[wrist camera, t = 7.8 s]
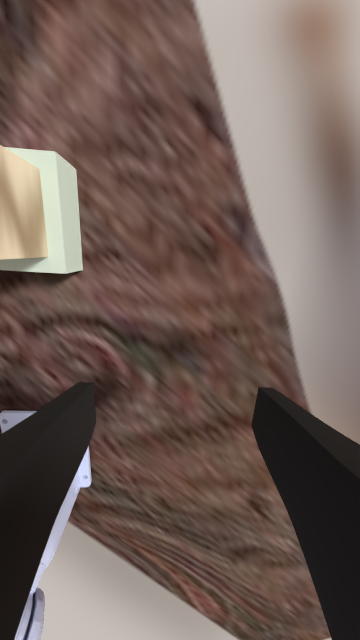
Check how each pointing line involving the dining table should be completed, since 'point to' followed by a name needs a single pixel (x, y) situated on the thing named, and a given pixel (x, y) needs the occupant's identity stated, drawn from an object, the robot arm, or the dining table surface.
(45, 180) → the base block
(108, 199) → the dining table surface
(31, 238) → the maple cube
